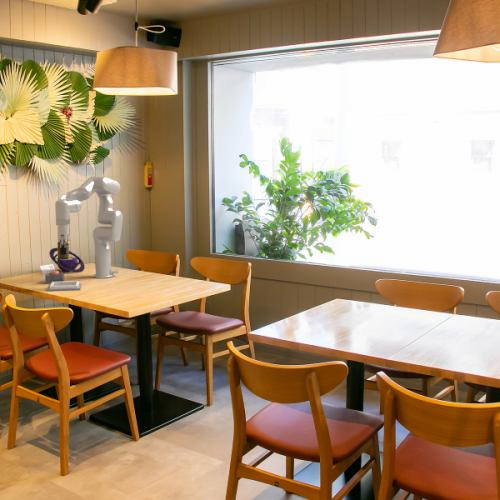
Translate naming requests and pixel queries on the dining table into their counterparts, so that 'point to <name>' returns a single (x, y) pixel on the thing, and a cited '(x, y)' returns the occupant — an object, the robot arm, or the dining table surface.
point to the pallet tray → (64, 286)
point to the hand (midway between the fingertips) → (63, 253)
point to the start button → (54, 273)
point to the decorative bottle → (67, 261)
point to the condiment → (66, 257)
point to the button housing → (54, 278)
